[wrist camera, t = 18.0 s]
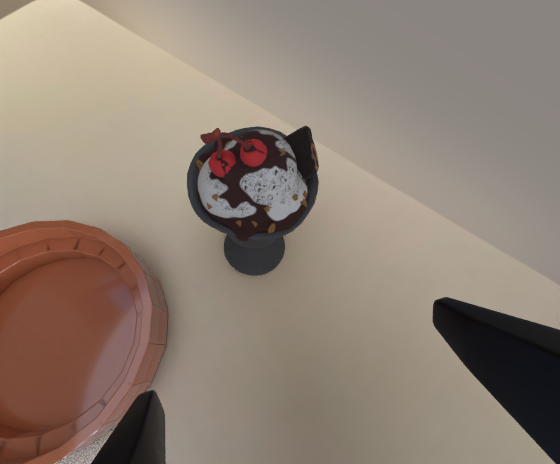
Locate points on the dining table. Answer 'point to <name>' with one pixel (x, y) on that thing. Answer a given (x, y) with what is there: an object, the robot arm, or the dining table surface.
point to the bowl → (72, 337)
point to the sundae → (254, 191)
